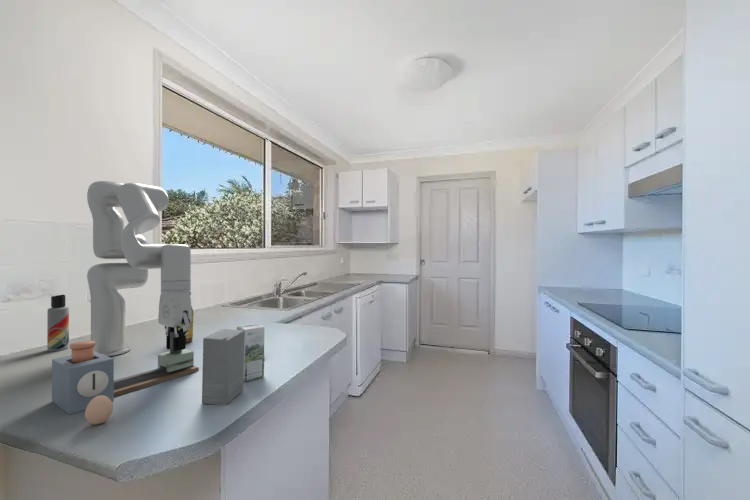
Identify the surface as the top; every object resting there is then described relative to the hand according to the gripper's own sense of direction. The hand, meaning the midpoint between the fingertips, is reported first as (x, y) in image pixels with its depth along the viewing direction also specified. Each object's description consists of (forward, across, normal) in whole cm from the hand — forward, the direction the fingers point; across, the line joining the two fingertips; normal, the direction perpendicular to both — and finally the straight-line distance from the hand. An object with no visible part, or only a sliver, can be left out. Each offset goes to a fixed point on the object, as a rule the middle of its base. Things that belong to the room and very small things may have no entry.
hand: (176, 348), depth 97 cm
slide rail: (+7, 0, -6) cm, 9 cm away
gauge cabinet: (+7, 0, -21) cm, 22 cm away
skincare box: (+7, +27, -2) cm, 28 cm away
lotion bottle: (+7, -62, -10) cm, 63 cm away
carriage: (+5, 0, 0) cm, 5 cm away
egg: (+8, +16, -23) cm, 29 cm away
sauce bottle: (+7, -33, +20) cm, 39 cm away
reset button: (-3, 0, -21) cm, 21 cm away
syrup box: (+7, +21, +10) cm, 24 cm away
